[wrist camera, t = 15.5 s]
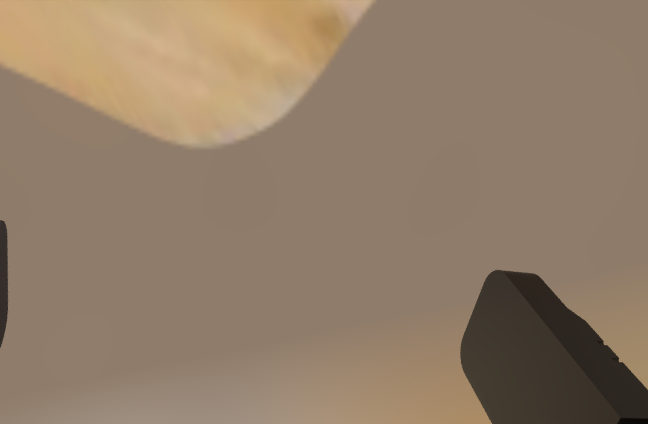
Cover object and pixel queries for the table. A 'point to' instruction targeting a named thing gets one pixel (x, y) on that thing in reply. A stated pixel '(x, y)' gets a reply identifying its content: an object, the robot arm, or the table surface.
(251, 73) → the table surface
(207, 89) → the table surface
